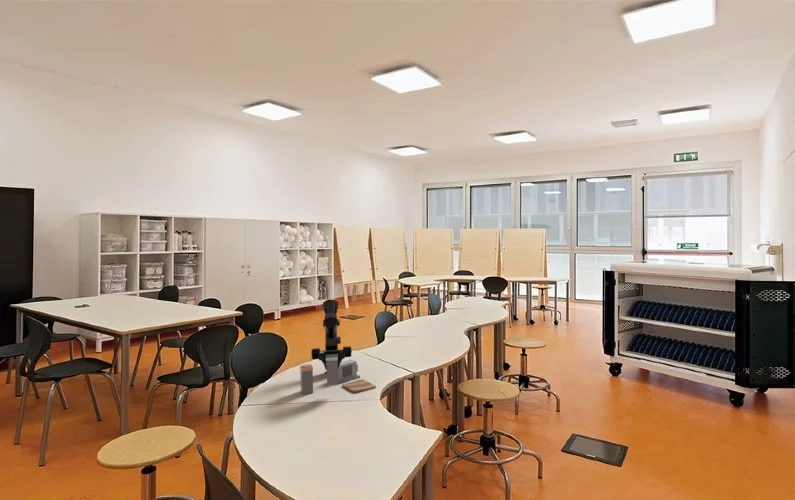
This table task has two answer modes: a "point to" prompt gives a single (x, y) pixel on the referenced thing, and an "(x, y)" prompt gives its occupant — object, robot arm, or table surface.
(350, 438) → the table surface
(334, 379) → the block
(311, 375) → the block
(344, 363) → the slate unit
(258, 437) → the table surface
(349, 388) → the walnut pad
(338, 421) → the table surface
